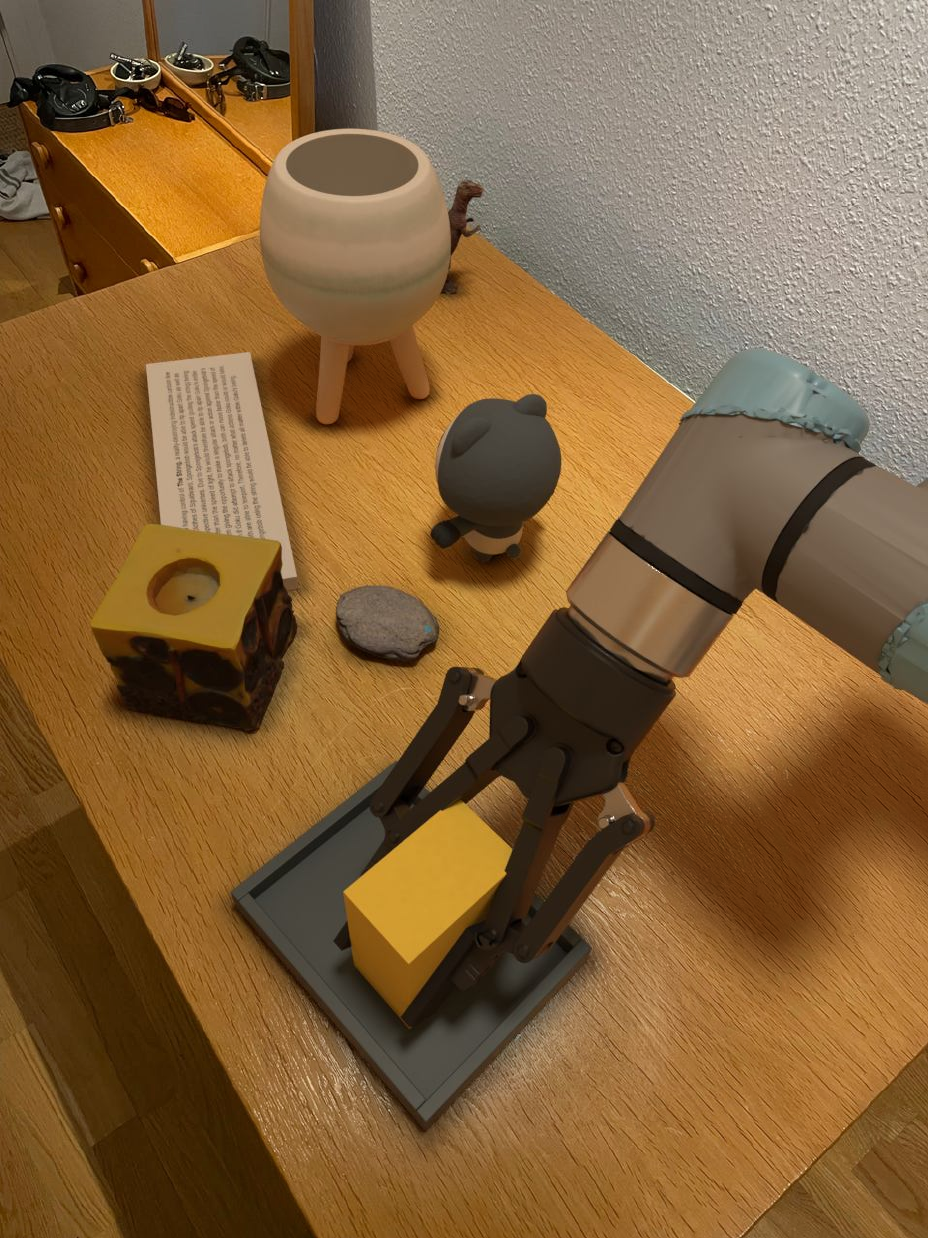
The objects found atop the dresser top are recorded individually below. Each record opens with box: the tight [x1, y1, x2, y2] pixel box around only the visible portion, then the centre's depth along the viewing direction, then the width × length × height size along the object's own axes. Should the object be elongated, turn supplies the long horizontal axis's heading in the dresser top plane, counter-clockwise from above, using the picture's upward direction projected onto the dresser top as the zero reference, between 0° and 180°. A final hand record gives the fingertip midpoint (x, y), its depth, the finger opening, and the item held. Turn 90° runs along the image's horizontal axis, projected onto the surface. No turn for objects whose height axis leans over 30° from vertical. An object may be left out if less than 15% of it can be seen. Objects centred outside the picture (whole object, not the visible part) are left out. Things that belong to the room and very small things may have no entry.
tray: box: [230, 760, 593, 1132], centre depth 58 cm, size 18×14×2 cm
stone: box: [335, 584, 440, 663], centre depth 73 cm, size 7×8×2 cm
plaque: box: [145, 351, 300, 592], centre depth 84 cm, size 30×2×10 cm
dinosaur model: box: [441, 179, 485, 295], centre depth 100 cm, size 4×12×15 cm
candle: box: [90, 522, 298, 732], centre depth 67 cm, size 10×10×10 cm
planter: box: [259, 128, 451, 425], centre depth 84 cm, size 16×16×22 cm
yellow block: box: [343, 800, 513, 1029], centre depth 53 cm, size 5×8×11 cm, turn 134°
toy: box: [429, 393, 562, 563], centre depth 74 cm, size 12×10×15 cm
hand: (384, 976), depth 53 cm, fingers closed on yellow block, 5 cm apart
